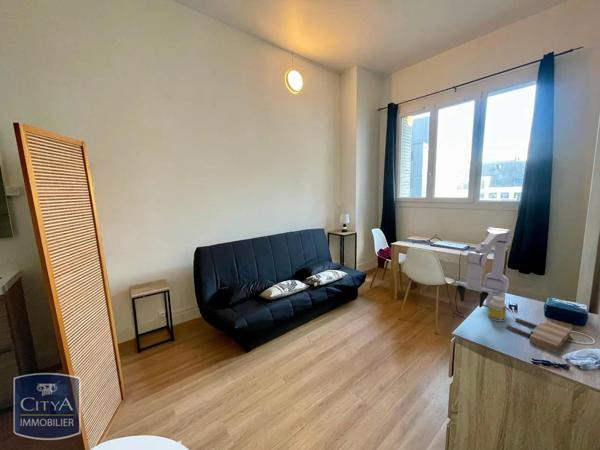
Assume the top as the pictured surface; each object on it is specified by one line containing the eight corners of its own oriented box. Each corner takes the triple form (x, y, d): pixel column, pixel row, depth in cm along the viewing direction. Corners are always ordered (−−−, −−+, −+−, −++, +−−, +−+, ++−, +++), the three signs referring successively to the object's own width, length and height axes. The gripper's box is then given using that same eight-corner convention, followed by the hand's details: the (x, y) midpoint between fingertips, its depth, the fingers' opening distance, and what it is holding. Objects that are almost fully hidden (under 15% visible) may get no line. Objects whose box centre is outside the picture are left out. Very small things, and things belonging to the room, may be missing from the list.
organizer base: (519, 318, 123) (520, 312, 123) (570, 335, 108) (571, 329, 108) (502, 331, 113) (503, 325, 112) (555, 352, 98) (556, 345, 98)
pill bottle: (498, 315, 126) (501, 295, 124) (507, 322, 120) (510, 301, 118) (485, 315, 126) (487, 295, 125) (493, 321, 120) (496, 300, 119)
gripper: (454, 274, 121) (451, 300, 123) (490, 283, 109) (486, 312, 111) (459, 271, 125) (457, 296, 127) (494, 279, 114) (491, 307, 116)
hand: (471, 303), depth 119 cm, fingers open, 7 cm apart
